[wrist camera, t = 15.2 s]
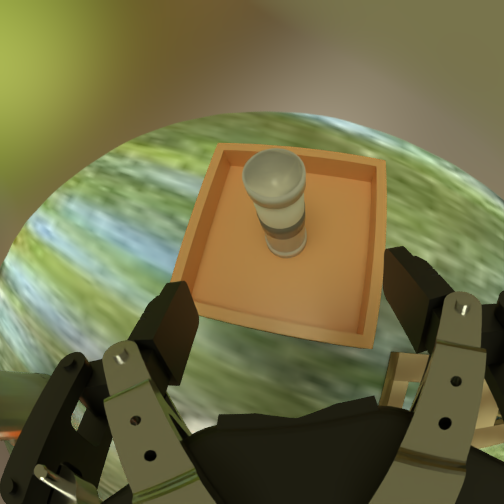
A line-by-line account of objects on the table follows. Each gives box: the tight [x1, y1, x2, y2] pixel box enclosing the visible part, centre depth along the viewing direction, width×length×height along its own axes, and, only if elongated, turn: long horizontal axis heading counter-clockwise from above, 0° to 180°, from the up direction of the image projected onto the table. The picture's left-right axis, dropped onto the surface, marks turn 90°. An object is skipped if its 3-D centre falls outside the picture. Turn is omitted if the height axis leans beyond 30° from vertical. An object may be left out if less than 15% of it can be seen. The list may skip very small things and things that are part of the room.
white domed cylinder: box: [242, 148, 307, 258], centre depth 21 cm, size 4×4×11 cm
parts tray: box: [170, 143, 387, 349], centre depth 25 cm, size 18×18×4 cm
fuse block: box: [379, 352, 504, 449], centre depth 16 cm, size 10×21×2 cm, turn 76°
